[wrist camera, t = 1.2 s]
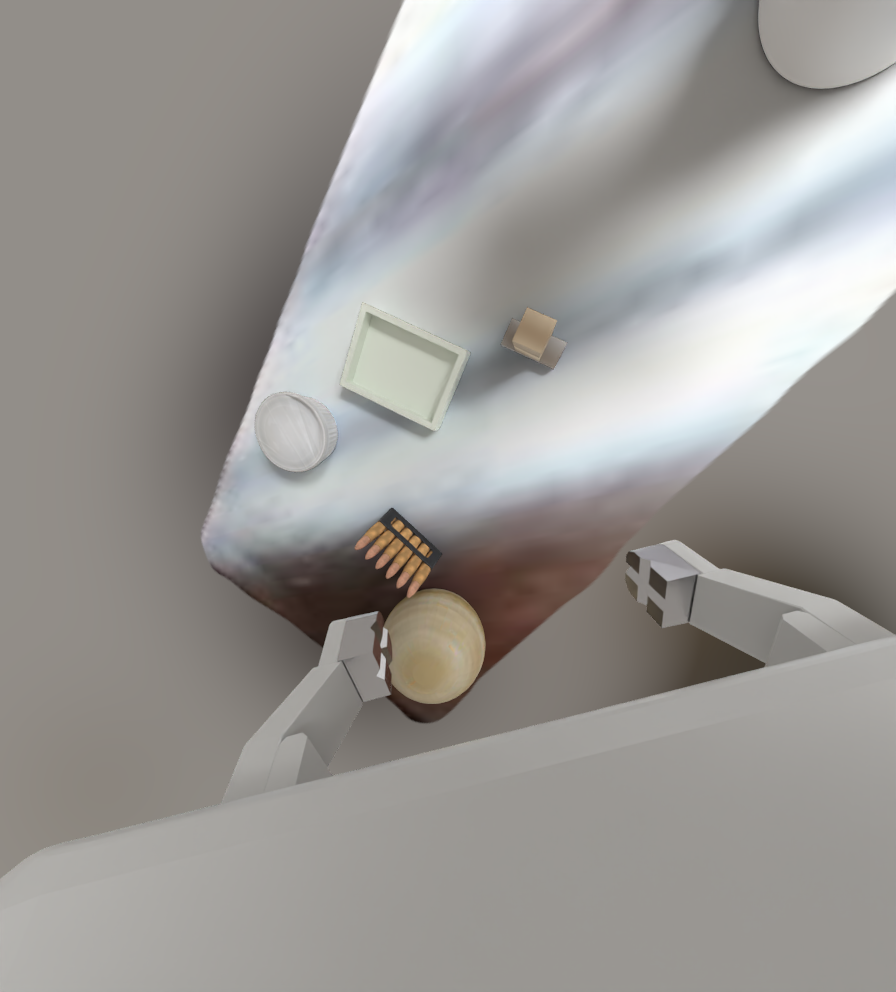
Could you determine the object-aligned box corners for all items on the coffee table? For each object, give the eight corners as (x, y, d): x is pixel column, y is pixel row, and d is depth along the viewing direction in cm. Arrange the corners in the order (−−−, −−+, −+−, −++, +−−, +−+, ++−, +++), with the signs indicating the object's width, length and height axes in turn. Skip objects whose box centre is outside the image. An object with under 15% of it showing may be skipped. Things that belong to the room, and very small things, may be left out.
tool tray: (371, 306, 43) (362, 302, 40) (471, 352, 41) (467, 350, 39) (348, 385, 47) (339, 384, 44) (439, 429, 45) (434, 431, 43)
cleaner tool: (512, 320, 39) (507, 298, 30) (566, 344, 39) (577, 329, 30) (501, 345, 40) (492, 331, 31) (553, 369, 40) (560, 362, 31)
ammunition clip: (385, 514, 52) (345, 548, 40) (392, 507, 51) (353, 539, 40) (435, 560, 52) (409, 606, 41) (442, 553, 51) (418, 598, 40)
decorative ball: (388, 614, 57) (343, 686, 43) (428, 552, 52) (390, 611, 38) (461, 662, 57) (438, 750, 43) (509, 605, 51) (501, 684, 37)
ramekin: (358, 424, 48) (338, 427, 43) (324, 479, 52) (302, 488, 47) (299, 375, 48) (273, 373, 43) (270, 434, 52) (243, 439, 47)
